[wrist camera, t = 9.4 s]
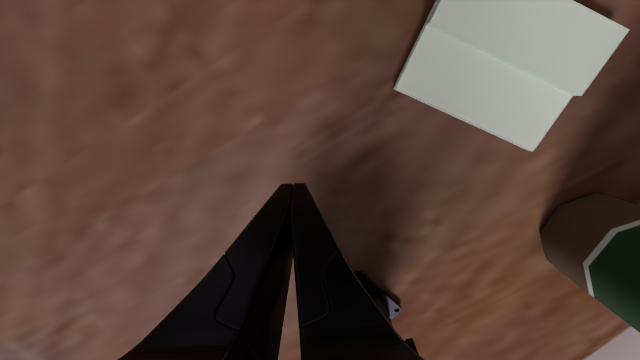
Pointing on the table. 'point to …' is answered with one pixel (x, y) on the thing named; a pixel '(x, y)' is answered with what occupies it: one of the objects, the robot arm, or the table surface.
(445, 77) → the napkin
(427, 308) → the table surface
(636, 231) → the beer bottle
